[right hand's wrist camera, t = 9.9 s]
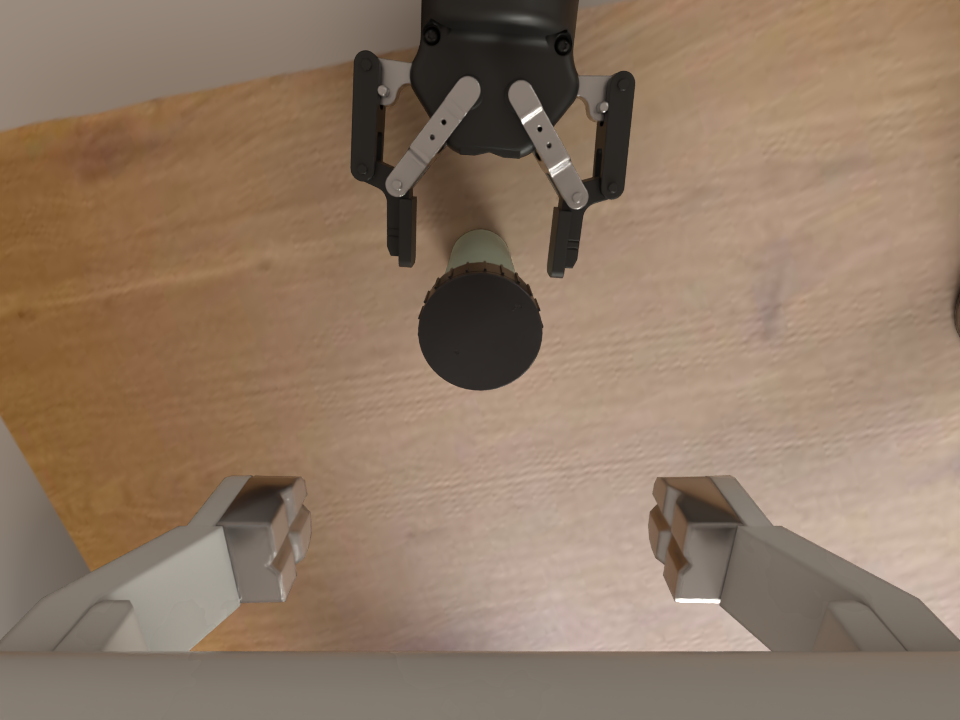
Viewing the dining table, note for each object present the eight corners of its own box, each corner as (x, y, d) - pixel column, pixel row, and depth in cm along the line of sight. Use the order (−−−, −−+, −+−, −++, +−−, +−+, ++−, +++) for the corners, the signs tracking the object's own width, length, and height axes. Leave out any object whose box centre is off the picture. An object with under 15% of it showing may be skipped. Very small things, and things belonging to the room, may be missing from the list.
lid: (502, 389, 24) (504, 411, 22) (402, 339, 23) (395, 357, 21) (560, 296, 22) (568, 310, 20) (455, 237, 21) (453, 247, 19)
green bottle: (491, 298, 36) (498, 392, 22) (440, 271, 36) (413, 349, 21) (521, 247, 35) (548, 312, 21) (468, 218, 34) (459, 263, 20)
